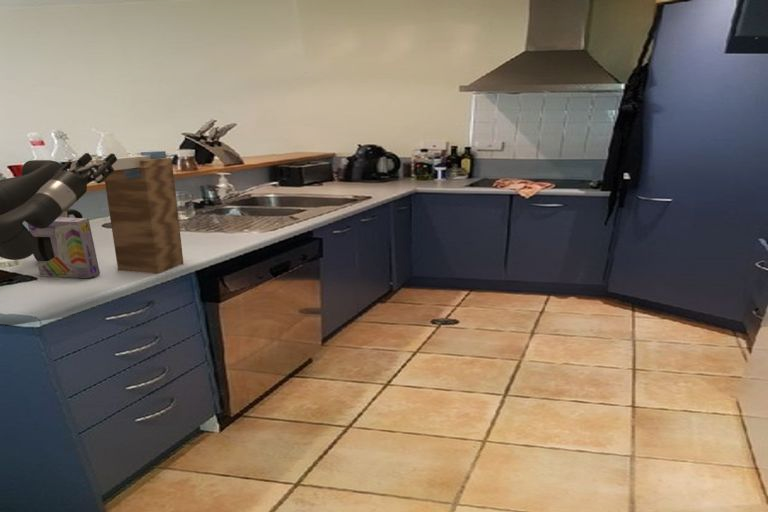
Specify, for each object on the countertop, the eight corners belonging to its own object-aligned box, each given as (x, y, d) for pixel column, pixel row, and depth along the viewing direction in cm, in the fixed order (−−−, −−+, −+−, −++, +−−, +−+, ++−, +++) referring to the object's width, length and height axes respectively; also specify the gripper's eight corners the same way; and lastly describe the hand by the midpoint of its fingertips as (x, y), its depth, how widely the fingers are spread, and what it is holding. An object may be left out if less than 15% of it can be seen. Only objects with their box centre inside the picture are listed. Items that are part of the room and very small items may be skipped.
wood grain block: (156, 274, 153) (141, 160, 144) (116, 270, 158) (99, 160, 149) (183, 263, 165) (171, 157, 156) (145, 260, 169) (132, 157, 160)
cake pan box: (34, 276, 153) (23, 218, 148) (49, 271, 157) (38, 215, 153) (88, 280, 148) (78, 221, 144) (101, 275, 153) (92, 217, 149)
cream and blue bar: (108, 171, 136) (105, 156, 135) (96, 170, 137) (94, 155, 136) (169, 164, 158) (167, 151, 157) (158, 163, 159) (156, 150, 158)
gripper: (74, 181, 121) (115, 144, 132) (29, 179, 125) (73, 143, 136) (92, 205, 126) (130, 168, 137) (48, 203, 130) (88, 167, 141)
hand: (101, 156), depth 136 cm, fingers open, 8 cm apart
